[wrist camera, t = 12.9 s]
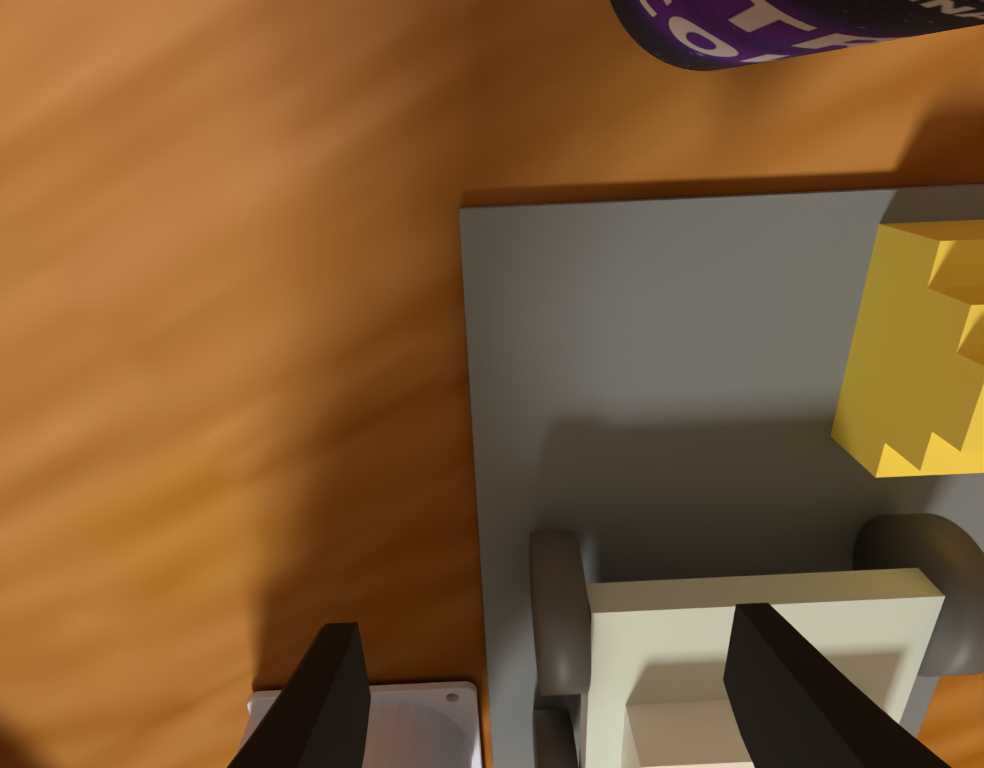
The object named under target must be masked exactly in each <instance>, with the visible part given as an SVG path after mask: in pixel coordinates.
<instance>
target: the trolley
mask: <svg viewBox="0 0 984 768" xmlns="http://www.w3.org/2000/svg"><path fill="white" fill-rule="evenodd" d="M529 562H530V588H531V606H532V621H533V634H534V646H535V657H536V666H537V675H538V682H539V689H540V693H541V696H548V695H568V694H581V716H580V749H579V767H578V759H577V751H576V744H575V738H574V732H573V726H572V721H571V717H570V713H569V710H568V709H567V708H561V709H540V710H533V714H532V724H533V750H534V767H535V768H755V767H754V765H753V762H752V760H751V758H750V756H749V753H748V751H747V749H746V747H745V744H744V742H743V740H742V737H741V735H740V732H739V729H738V726H737V723H736V720H735V717H734V714H733V711H732V708H731V704H730V701H729V698H728V695H727V692H726V688H725V685H724V682H723V676H724V670H725V664H726V659H727V653H728V647H729V641H730V635H731V629H732V624H733V618H734V612H735V606H736V604H747V603H769V604H770V605H771V606H772V607H773V608H774V609H775V610H776V611H777V612H778V613H779V614H781V615H782V616H783V617H784V618H785V619H786V620H787V621H788V622H789V623H790V624H791V625H792V626H793V627H794V628H795V629H796V630H797V631H798V632H799V633H800V634H801V635H802V636H803V637H804V638H806V639H807V640H808V641H809V642H810V643H811V644H812V645H813V646H814V647H815V648H816V649H817V650H818V651H819V652H820V653H821V654H822V655H823V656H824V657H825V658H826V659H827V660H829V661H830V662H831V663H832V664H833V665H834V666H835V667H836V668H837V669H838V670H839V671H840V672H841V673H842V674H843V675H845V676H846V677H847V678H848V679H849V680H850V681H851V682H852V683H853V684H854V685H855V686H857V687H858V688H859V689H860V690H861V691H862V692H863V693H864V694H865V695H867V696H868V697H869V698H870V699H871V700H872V701H873V702H874V703H875V704H876V705H878V706H879V707H880V708H881V709H882V710H883V711H884V712H885V713H887V714H888V715H889V716H890V717H891V718H892V719H893V720H895V721H896V722H897V723H898V724H899V723H900V720H901V717H902V714H903V712H904V709H905V706H906V703H907V701H908V698H909V695H910V692H911V690H912V687H913V684H914V681H915V679H916V676H917V675H918V676H921V677H937V676H958V675H975V674H981V673H983V672H984V553H983V551H982V550H981V548H980V547H979V546H978V544H977V543H976V542H975V541H974V540H973V539H972V537H971V536H970V535H969V534H967V533H966V532H965V531H964V530H963V529H962V528H961V527H959V526H958V525H957V524H956V523H954V522H952V521H951V520H949V519H947V518H945V517H942V516H940V515H936V514H932V513H916V514H895V515H880V516H876V517H873V518H872V519H870V520H869V521H867V522H866V523H865V524H864V526H863V527H862V528H861V530H860V532H859V534H858V536H857V539H856V542H855V546H854V552H853V571H840V572H819V573H798V574H778V575H757V576H736V577H715V578H694V579H674V580H653V581H632V582H611V583H590V584H586V582H585V574H584V568H583V562H582V557H581V552H580V547H579V544H578V540H577V537H576V534H575V532H574V531H573V530H559V531H538V532H530V540H529Z"/></svg>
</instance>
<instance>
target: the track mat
mask: <svg viewBox="0 0 984 768" xmlns="http://www.w3.org/2000/svg"><path fill="white" fill-rule="evenodd" d="M961 220H984V183H983V184H961V185H939V186H917V187H895V188H873V189H851V190H829V191H807V192H785V193H763V194H741V195H719V196H697V197H675V198H653V199H631V200H609V201H587V202H565V203H543V204H521V205H499V206H477V207H459V223H460V239H461V255H462V272H463V288H464V304H465V320H466V336H467V352H468V368H469V384H470V400H471V416H472V432H473V448H474V465H475V481H476V497H477V513H478V529H479V545H480V561H481V577H482V593H483V609H484V625H485V641H486V657H487V674H488V690H489V706H490V722H491V738H492V754H493V768H535V767H534V750H533V724H532V714H533V710H540V709H561V708H567V709H568V710H569V713H570V717H571V721H572V726H573V732H574V738H575V744H576V751H577V759H578V767H579V749H580V716H581V694H568V695H548V696H541V693H540V689H539V682H538V675H537V666H536V657H535V646H534V634H533V621H532V606H531V588H530V562H529V540H530V532H538V531H559V530H573V531H574V532H575V534H576V537H577V540H578V544H579V547H580V552H581V557H582V562H583V568H584V574H585V582H586V584H590V583H611V582H632V581H653V580H674V579H694V578H715V577H736V576H757V575H778V574H798V573H819V572H840V571H853V552H854V546H855V542H856V539H857V536H858V534H859V532H860V530H861V528H862V527H863V526H864V524H865V523H866V522H867V521H869V520H870V519H872V518H873V517H876V516H880V515H895V514H916V513H932V514H936V515H940V516H942V517H945V518H947V519H949V520H951V521H952V522H954V523H956V524H957V525H958V526H959V527H961V528H962V529H963V530H964V531H965V532H966V533H967V534H969V535H970V536H971V537H972V539H973V540H974V541H975V542H976V543H977V544H978V546H979V547H980V548H981V550H982V551H983V553H984V473H968V474H945V475H923V476H900V477H878V478H875V477H874V476H873V475H872V474H871V473H870V472H869V471H868V470H867V469H866V468H865V467H863V466H862V465H861V464H860V463H859V462H858V461H857V460H856V459H855V458H854V457H853V456H851V455H850V454H849V453H848V452H847V451H846V450H845V449H844V448H843V447H842V446H841V445H839V444H838V443H837V442H836V441H835V440H834V439H833V438H832V437H831V431H832V427H833V422H834V418H835V414H836V409H837V405H838V400H839V396H840V392H841V387H842V383H843V379H844V374H845V370H846V365H847V361H848V357H849V352H850V348H851V343H852V339H853V335H854V330H855V326H856V322H857V317H858V313H859V308H860V304H861V300H862V295H863V291H864V287H865V282H866V278H867V273H868V269H869V265H870V260H871V256H872V251H873V247H874V243H875V238H876V234H877V230H878V225H879V224H889V223H913V222H937V221H961ZM939 678H940V676H937V677H921V676H918V675H917V676H916V679H915V681H914V684H913V687H912V690H911V692H910V695H909V698H908V701H907V703H906V706H905V709H904V712H903V714H902V717H901V720H900V723H899V725H900V726H902V727H903V728H904V729H905V730H906V731H908V732H909V733H910V734H911V735H912V736H914V737H915V738H917V735H918V733H919V730H920V728H921V725H922V722H923V720H924V717H925V715H926V712H927V709H928V707H929V704H930V702H931V699H932V696H933V694H934V691H935V689H936V686H937V684H938V681H939Z"/></svg>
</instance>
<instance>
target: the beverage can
mask: <svg viewBox="0 0 984 768" xmlns="http://www.w3.org/2000/svg"><path fill="white" fill-rule="evenodd" d="M610 2H611V4H612V6H613V9H614V11H615V13H616V15H617V16H618V18H619V20H620V22H621V23H622V25H623V26H624V28H625V29H626V31H627V32H628V33H629V34H630V36H631V37H632V38H633V39H634V40H635V41H636V42H637V43H638V44H639V45H640V46H641V47H642V48H643V49H645V50H646V51H647V52H648V53H650V54H651V55H653V56H654V57H656V58H658V59H659V60H661V61H663V62H665V63H668V64H670V65H673V66H676V67H679V68H683V69H688V70H697V71H712V70H720V69H726V68H732V67H738V66H744V65H750V64H756V63H761V62H767V61H773V60H779V59H785V58H790V57H796V56H802V55H808V54H814V53H819V52H825V51H831V50H837V49H843V48H849V47H854V46H860V45H866V44H872V43H878V42H883V41H889V40H895V39H901V38H907V37H912V36H918V35H924V34H930V33H936V32H942V31H947V30H953V29H959V28H965V27H971V26H976V25H982V24H984V0H610Z"/></svg>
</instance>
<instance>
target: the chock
mask: <svg viewBox="0 0 984 768" xmlns="http://www.w3.org/2000/svg"><path fill="white" fill-rule="evenodd" d="M831 437H832V438H833V439H834V440H835V441H836V442H837V443H838V444H839V445H841V446H842V447H843V448H844V449H845V450H846V451H847V452H848V453H849V454H850V455H851V456H853V457H854V458H855V459H856V460H857V461H858V462H859V463H860V464H861V465H862V466H863V467H865V468H866V469H867V470H868V471H869V472H870V473H871V474H872V475H873V476H874V477H875V478H878V477H900V476H923V475H945V474H968V473H984V220H961V221H937V222H913V223H889V224H879V225H878V230H877V234H876V238H875V243H874V247H873V251H872V256H871V260H870V265H869V269H868V273H867V278H866V282H865V287H864V291H863V295H862V300H861V304H860V308H859V313H858V317H857V322H856V326H855V330H854V335H853V339H852V343H851V348H850V352H849V357H848V361H847V365H846V370H845V374H844V379H843V383H842V387H841V392H840V396H839V400H838V405H837V409H836V414H835V418H834V422H833V427H832V431H831Z"/></svg>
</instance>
